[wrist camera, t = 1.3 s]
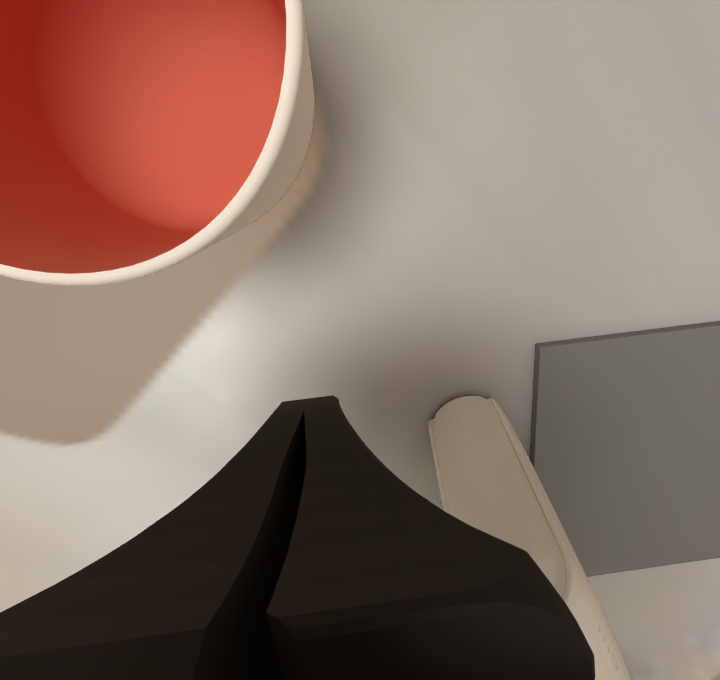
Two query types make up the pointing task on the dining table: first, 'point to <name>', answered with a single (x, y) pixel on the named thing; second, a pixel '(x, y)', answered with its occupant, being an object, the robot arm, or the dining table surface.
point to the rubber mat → (631, 445)
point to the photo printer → (515, 510)
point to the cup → (144, 130)
